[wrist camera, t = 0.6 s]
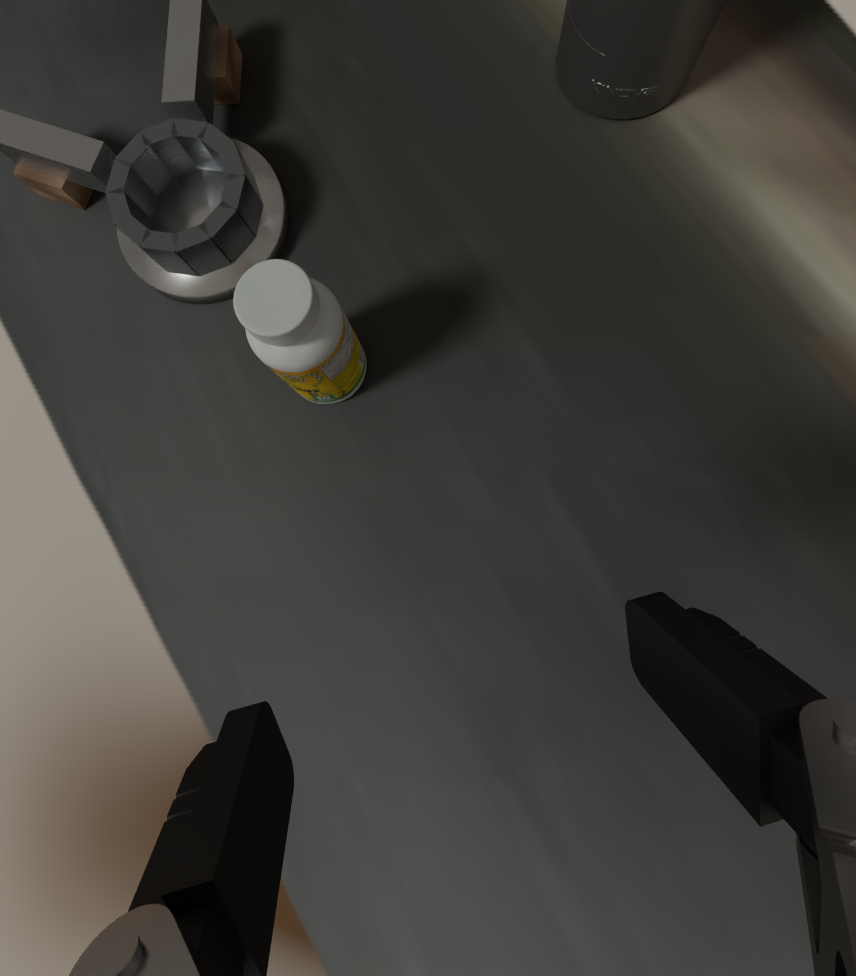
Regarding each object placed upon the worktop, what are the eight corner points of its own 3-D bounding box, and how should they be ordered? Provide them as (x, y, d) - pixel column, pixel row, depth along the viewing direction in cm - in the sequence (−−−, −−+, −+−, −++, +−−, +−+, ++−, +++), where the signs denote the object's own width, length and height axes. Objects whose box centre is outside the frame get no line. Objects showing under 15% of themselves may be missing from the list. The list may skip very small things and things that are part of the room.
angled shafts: (62, 11, 35) (35, -24, 33) (237, 27, 34) (222, -8, 32) (11, 182, 34) (-20, 157, 31) (192, 206, 32) (173, 182, 30)
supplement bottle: (383, 357, 32) (349, 281, 23) (337, 421, 32) (284, 371, 23) (320, 316, 33) (262, 225, 24) (274, 378, 33) (198, 312, 23)
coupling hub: (150, 139, 36) (111, 89, 32) (305, 158, 34) (284, 108, 31) (110, 291, 34) (64, 259, 31) (268, 315, 33) (242, 285, 29)
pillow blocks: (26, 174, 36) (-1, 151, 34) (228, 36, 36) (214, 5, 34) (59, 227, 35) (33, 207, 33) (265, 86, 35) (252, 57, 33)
